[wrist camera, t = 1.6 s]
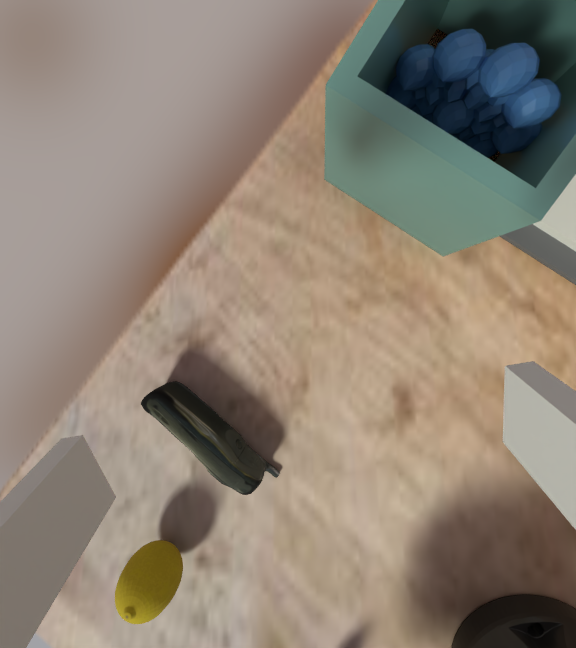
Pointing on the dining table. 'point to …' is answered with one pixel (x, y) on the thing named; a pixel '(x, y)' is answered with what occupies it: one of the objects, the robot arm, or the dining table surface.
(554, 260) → the mat
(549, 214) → the lid
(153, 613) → the lemon
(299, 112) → the dining table surface
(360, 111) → the teal storage bin
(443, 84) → the grapes
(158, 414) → the mobile phone
